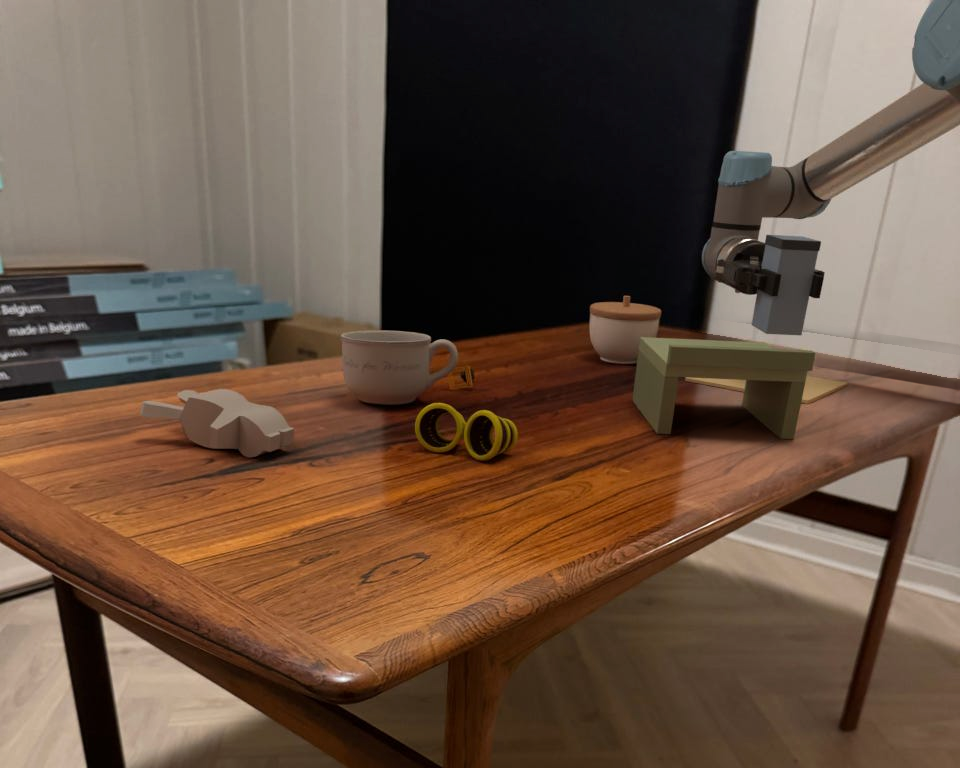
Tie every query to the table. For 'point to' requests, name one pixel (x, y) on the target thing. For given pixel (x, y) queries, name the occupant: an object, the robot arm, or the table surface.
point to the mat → (812, 391)
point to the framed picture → (463, 377)
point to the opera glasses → (466, 432)
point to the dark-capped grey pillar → (786, 284)
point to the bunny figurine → (225, 421)
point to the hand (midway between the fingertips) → (797, 286)
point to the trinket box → (621, 329)
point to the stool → (765, 369)
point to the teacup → (391, 365)
